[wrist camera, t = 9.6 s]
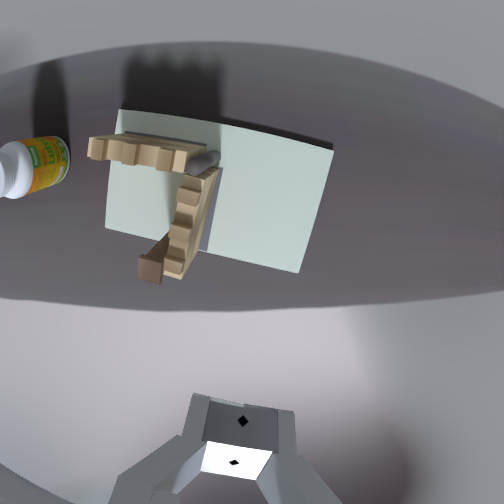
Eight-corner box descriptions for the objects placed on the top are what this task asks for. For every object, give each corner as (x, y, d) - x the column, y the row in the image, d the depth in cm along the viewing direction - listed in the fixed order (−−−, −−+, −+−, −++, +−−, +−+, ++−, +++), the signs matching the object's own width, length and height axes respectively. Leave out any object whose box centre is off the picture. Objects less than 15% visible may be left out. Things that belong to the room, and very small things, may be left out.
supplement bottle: (79, 157, 28) (17, 173, 19) (55, 193, 30) (-4, 219, 21) (52, 125, 27) (-12, 133, 18) (30, 162, 28) (-31, 180, 19)
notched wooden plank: (202, 164, 27) (181, 176, 20) (218, 169, 27) (202, 182, 21) (182, 246, 30) (159, 278, 23) (197, 251, 30) (178, 284, 24)
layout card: (107, 225, 31) (104, 227, 30) (121, 109, 26) (118, 109, 25) (297, 270, 31) (298, 273, 30) (332, 150, 27) (334, 151, 26)
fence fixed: (122, 148, 27) (80, 157, 20) (125, 133, 26) (82, 138, 19) (219, 166, 27) (200, 179, 20) (222, 149, 27) (205, 157, 20)
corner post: (168, 241, 30) (137, 278, 23) (170, 224, 29) (138, 257, 22) (185, 246, 30) (159, 284, 23) (188, 228, 29) (161, 263, 22)
